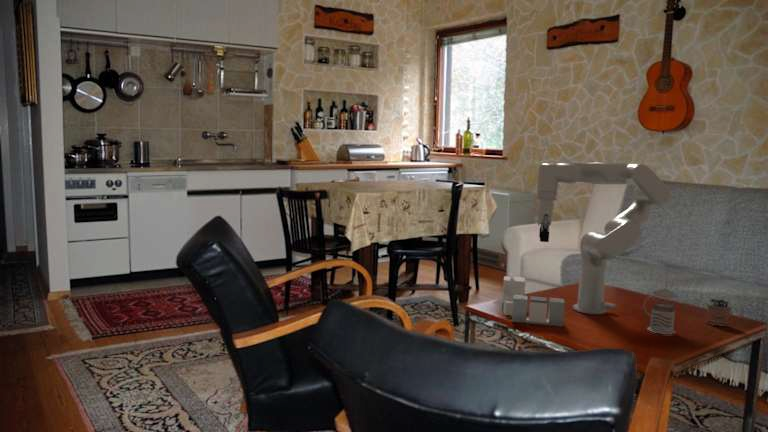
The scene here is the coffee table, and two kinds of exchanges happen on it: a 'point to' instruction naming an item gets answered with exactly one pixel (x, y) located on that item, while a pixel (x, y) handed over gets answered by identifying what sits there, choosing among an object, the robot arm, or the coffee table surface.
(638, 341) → the coffee table surface
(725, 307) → the lighter
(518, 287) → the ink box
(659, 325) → the french press
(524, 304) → the grey u-shaped block
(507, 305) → the block
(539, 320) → the module
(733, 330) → the coffee table surface
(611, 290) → the coffee table surface
